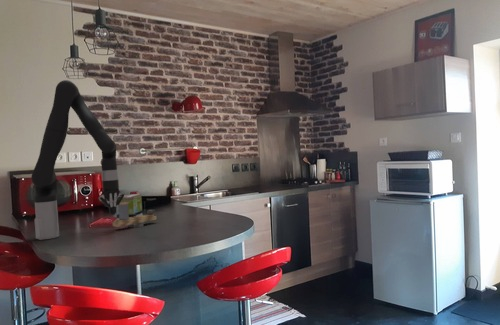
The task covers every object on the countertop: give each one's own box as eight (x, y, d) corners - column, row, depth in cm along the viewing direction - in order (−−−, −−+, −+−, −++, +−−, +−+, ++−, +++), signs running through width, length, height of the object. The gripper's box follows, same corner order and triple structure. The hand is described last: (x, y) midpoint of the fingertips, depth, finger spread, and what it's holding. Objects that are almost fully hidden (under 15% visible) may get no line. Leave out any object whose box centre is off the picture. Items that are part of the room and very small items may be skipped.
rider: (123, 221, 194) (122, 203, 193) (119, 220, 196) (118, 203, 196) (129, 220, 196) (128, 202, 196) (125, 219, 199) (123, 202, 199)
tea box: (135, 223, 210) (133, 196, 210) (116, 224, 211) (114, 197, 210) (143, 218, 226) (141, 193, 225) (125, 219, 226) (124, 194, 225)
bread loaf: (118, 231, 190) (117, 216, 190) (112, 229, 195) (111, 215, 195) (157, 223, 206) (156, 210, 206) (150, 222, 211) (149, 209, 211)
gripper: (100, 180, 184) (103, 217, 184) (126, 178, 193) (128, 213, 194) (93, 180, 189) (96, 216, 190) (119, 178, 199) (121, 212, 199)
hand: (112, 214), depth 192 cm, fingers closed
